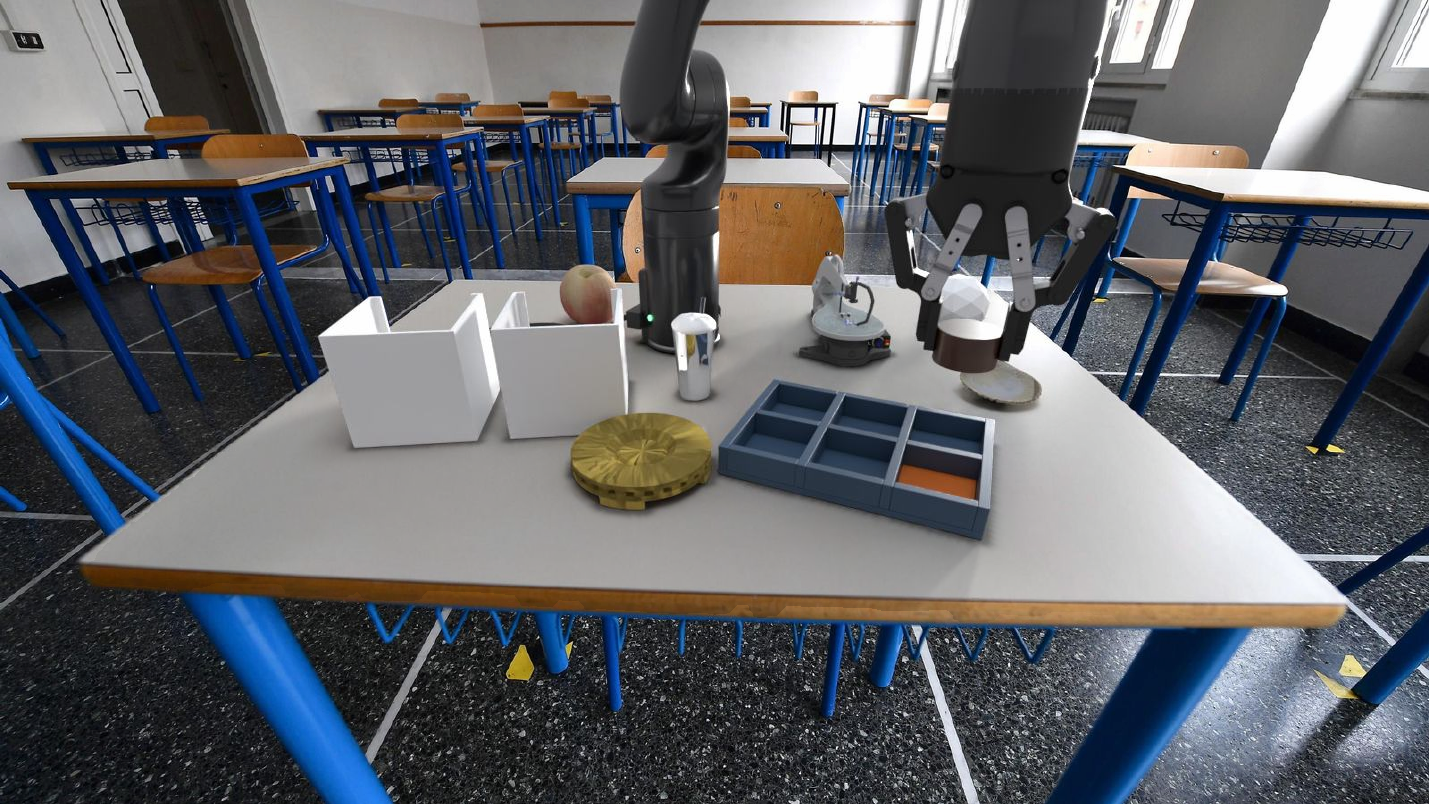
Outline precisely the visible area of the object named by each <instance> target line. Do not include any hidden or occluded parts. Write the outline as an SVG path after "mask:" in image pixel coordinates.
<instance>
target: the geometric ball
mask: <svg viewBox="0 0 1429 804" xmlns="http://www.w3.org/2000/svg"><path fill="white" fill-rule="evenodd" d="M942 294H943V295H944V299H943V305H942V310H941V316H940V322H942V321H944V320H949V319H972V320H978V321H983V320H985V319H986V316H987V313H988V310H989V308H990V307H989V306H990V304H991V302H990V297H989V293H988V290H987V287H986V286H984V284H982V283H981V282H979V280H978V279H976V278H975V277H972V276H968V275H965V274H961V273H956V274H953V275H949V277H948V279H947V281H946V283H945V285H944V287H943V289H942ZM940 322H939V323H940Z"/></svg>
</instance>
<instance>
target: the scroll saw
mask: <svg viewBox="0 0 1429 804" xmlns="http://www.w3.org/2000/svg"><path fill="white" fill-rule="evenodd" d="M844 272H845V271H844V263H843V260H842V258H841V257H840V255H839V254H833V255H830V256H828V255H827V256H825V257H823V258H822V260H821V262H820V264H819V267H818V268H817V272H816V275H815V278H814V280H813V282H812V284H811V291H812V294H813V298H812V309H811V312H810V317H811V327H812V329H813V330H814V332H815V333H817V343H818V344H814V345H809V346H808V345H806V346H802V347H801V346H800V347H799V348H798V356H799V357H800V358H806V359H813V360H819V361H825V362H828V363H831V364H833V365H836V366H841V367H859V366H864V365H865V364H866V363H868V362H869V361H872V360H876V359H881V358H882V359H883V358H887V357H890V356H891V354H892V353H891V352H892V349H891V348H890V346H891V339H892V336H891V335H890V333H889V332H888V330H887V329H886V326H885V322H884V321H883V320H881V319H880V318H879V317H877V316H875V315H874V314H872V313H873V310H874V306H875V297H874V296H875V295H874V293H873V290H872V289H871V287H870V285H867V284H865V283H863V282H861V281H859V280H860V278H861V277H860V276H859V275H857V276H855V281H851V279H847V277H846V275H845V273H844ZM858 286H859V287H861V288H863V289H865V290H866V291H867V293H868V296H869V299H870V304H869V307H868V311H867V312H866V311H864V310H861V309H859V308H856V307H853V306H852V305H848V304H846V303H845V302H844V300H843V298H844V299H845V300H848V303H850V304H858V302H859V299H858V298H857V295H858Z"/></svg>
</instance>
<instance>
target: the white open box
mask: <svg viewBox="0 0 1429 804" xmlns="http://www.w3.org/2000/svg"><path fill="white" fill-rule="evenodd" d="M470 300H471V302H470V304H469V305H468V306H467V308H466V309H465V310H464V311H463V313H462V314H461V315H460V317H459V318H458V319H457V321H456V322H455V323H454V324H453V326H452V327H451V328H450V329H440V330H413V331H412V330H411V331H391V328H390V324H389V321H388V317H387V313H386V309H385V306H384V302H383V298H382V296H368V297H367V298H366V299H365V300H363V301H362V302H361V303H359V304H357V306H355V307H354V308H353V309H351V310H350V311H349V312H348V313H346V314H345V315H344V316H342V317H341V318H339V319H338V320H337V321H336V322H335V323H333V324H332V325H330V326H329V327H328V328H327V329H326V330H324V331H323V332H321V333H320V334H319V335H317V338H318V341H319V344H320V348H321V350H322V354H323V356H324V360H325V363H326V366H327V369H328V372H329V376H330V379H331V382H332V385H333V388H334V391H335V394H336V397H337V399H338V402H339V406H340V409H341V412H342V416H343V418H344V421H345V424H346V427H347V430H348V434H349V436H350V439H351V443H352V446H353V448H354V449H358V448H359V449H360V448H375V447H378V448H379V447H395V446H396V447H397V446H412V445H413V446H414V445H429V444H446V443H448V444H449V443H465V442H466V443H467V442H477V441H478V440H479V438H480V436H481V433H482V432H483V429H484V426H485V425H486V423H487V420H488V419H489V418H488V417H489V415H490V413H491V412H492V409H493V407H494V405H495V403H496V401H497V398H498V395H499V394H500V391H501V395H502V396H501V397H502V401H503V408H504V412H505V417H506V423H507V428H508V434H509V439H510V440H517V439H535V438H536V439H537V438H552V437H570V436H579V435H580V434H581V433H583V432H584V431H585V430H587V429H588V428H589V427H591V426H593V425H595V424H597V423H599V422H601V421H604V420H607V419H610V418H613V417H617V416H621V415H627V414H629V411H628V410H629V408H628V407H629V373H628V372H629V371H628V359H627V345H626V331H625V321H624V317H623V315H624V304H623V292H622V288H617V289H611V303H612V315H613V317H612V322H613V324H611V323H603V324H591V325H580V324H569V325H568V324H564V325H565V326H539V327H530V325H529V323H530V318H529V311H528V305H527V299H526V292H525V291H513V292H512V293H511V295H510V297H509V298H508V300H507V302H506V303H505V305H504V306H503V307H502V310H501V312H500V313H499V315H498V317H497V318H496V319H495V321H494V323H493V324H492V326H491V327H492V328H491V327H490V326H489V319H488V315H487V309H486V305H485V298H484V293H483V292H473V293H470ZM489 328H491V330H489ZM490 331H491V333H490Z"/></svg>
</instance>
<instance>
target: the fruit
mask: <svg viewBox="0 0 1429 804" xmlns="http://www.w3.org/2000/svg"><path fill="white" fill-rule="evenodd" d="M611 289H618V287H617V285H616V283H615V281H614V279H613V278H612V276H611V274H610V273H608V272H607V270H605V269H604V268H602V267H601V266H598V265H594V264H579V265H575V266H573V267H571V268H570V269H569V270H568V271H567V272H566V273H565V275H564V276H563V278H562V280H561V282H560V285H559V299H560V303H561V306H562V309H563V311H564V312H565V313H566V315H567V316H568V317H569V318H570V319H571V320H573V322H575V323H577V325H591V324H606V323H607V322H609V321H610V320H611V319H613V315H612V303H611Z"/></svg>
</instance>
